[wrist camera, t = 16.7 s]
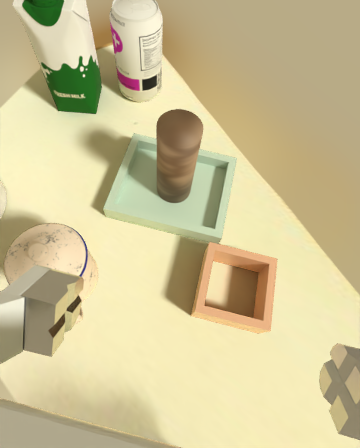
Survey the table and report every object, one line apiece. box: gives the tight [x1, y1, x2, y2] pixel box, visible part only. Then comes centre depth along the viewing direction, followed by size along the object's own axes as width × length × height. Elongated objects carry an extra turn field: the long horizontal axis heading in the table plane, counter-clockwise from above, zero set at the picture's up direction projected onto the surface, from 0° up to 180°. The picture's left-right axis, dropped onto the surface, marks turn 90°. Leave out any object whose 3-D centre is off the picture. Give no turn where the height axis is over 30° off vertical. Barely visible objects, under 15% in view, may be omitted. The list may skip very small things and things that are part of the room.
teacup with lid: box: [4, 223, 98, 324], centre depth 35 cm, size 12×9×12 cm
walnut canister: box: [157, 109, 203, 203], centre depth 40 cm, size 6×6×14 cm
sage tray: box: [103, 133, 237, 244], centre depth 46 cm, size 18×15×3 cm
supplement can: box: [110, 0, 163, 102], centre depth 50 cm, size 8×8×15 cm
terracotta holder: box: [191, 242, 277, 333], centre depth 39 cm, size 10×10×4 cm
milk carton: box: [13, 0, 102, 114], centre depth 45 cm, size 9×9×20 cm
